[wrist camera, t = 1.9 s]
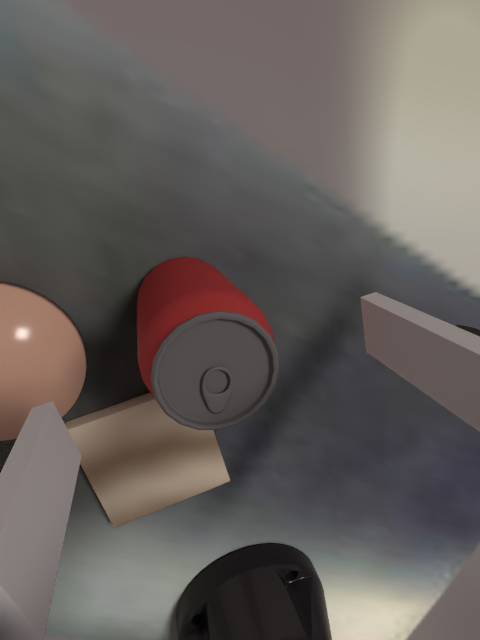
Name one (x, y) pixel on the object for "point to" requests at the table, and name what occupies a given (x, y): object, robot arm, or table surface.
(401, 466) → the table surface
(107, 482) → the square tan board
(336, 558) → the table surface
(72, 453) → the robot arm
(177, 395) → the beer can
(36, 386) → the coaster
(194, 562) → the table surface
